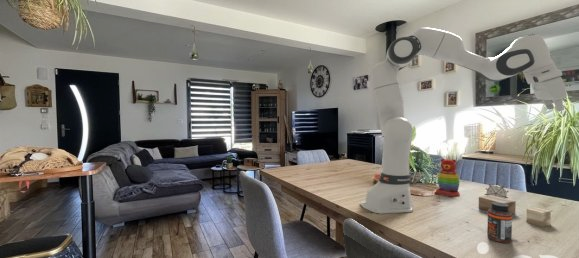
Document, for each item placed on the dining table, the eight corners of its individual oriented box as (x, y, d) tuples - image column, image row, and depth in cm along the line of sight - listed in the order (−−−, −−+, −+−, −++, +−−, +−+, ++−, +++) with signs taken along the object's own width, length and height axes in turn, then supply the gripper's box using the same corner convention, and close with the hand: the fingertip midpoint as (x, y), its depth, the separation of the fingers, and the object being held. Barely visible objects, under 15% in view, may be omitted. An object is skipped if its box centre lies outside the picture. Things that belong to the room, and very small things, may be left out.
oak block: (542, 230, 88) (542, 212, 88) (526, 225, 92) (526, 208, 92) (550, 228, 90) (550, 211, 89) (534, 223, 94) (534, 207, 94)
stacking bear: (432, 193, 133) (433, 159, 132) (439, 190, 139) (439, 157, 139) (457, 198, 125) (457, 161, 124) (463, 194, 131) (463, 159, 131)
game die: (501, 211, 117) (517, 197, 111) (482, 203, 119) (496, 189, 113) (496, 196, 124) (510, 182, 118) (477, 189, 126) (491, 175, 120)
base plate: (502, 222, 95) (502, 218, 95) (470, 211, 107) (470, 208, 107) (524, 217, 99) (524, 214, 99) (491, 207, 111) (491, 205, 110)
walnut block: (502, 216, 98) (503, 203, 97) (478, 208, 106) (478, 196, 106) (515, 214, 100) (515, 201, 100) (490, 206, 108) (490, 195, 108)
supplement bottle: (482, 235, 84) (482, 201, 84) (499, 234, 85) (499, 200, 85) (498, 244, 78) (499, 207, 78) (516, 243, 79) (517, 206, 79)
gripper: (523, 79, 109) (536, 110, 108) (539, 77, 92) (554, 114, 91) (543, 73, 106) (556, 105, 105) (563, 70, 88) (579, 108, 88)
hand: (555, 109), depth 98 cm, fingers open, 8 cm apart
